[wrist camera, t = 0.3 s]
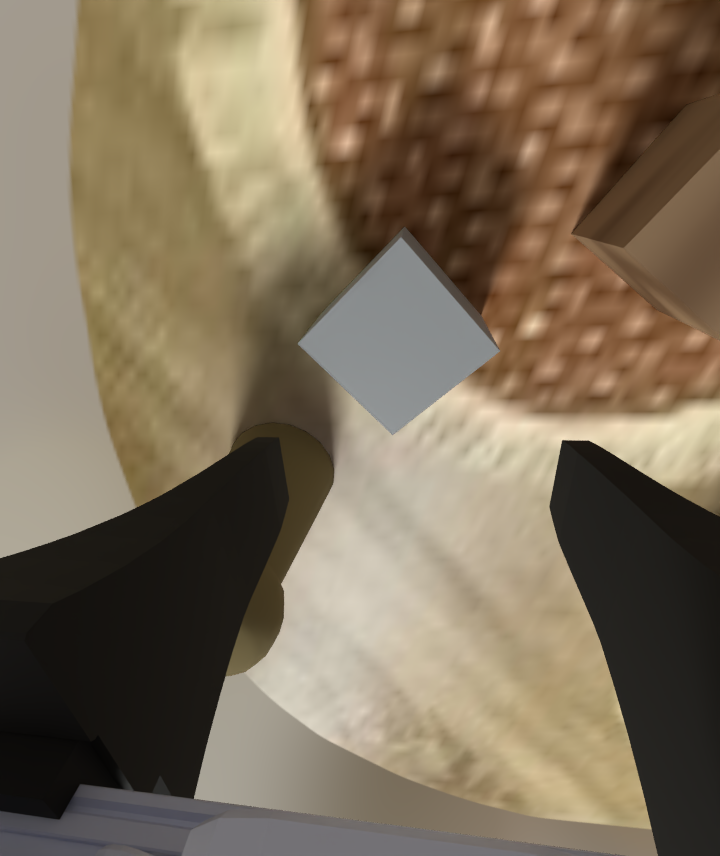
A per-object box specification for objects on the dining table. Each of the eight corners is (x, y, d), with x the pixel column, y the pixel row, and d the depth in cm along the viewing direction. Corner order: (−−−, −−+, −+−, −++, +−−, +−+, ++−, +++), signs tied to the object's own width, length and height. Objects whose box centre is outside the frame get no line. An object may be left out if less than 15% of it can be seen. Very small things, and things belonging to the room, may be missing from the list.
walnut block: (775, 199, 16) (911, 202, 11) (655, 308, 18) (731, 346, 14) (685, 104, 15) (797, 68, 10) (570, 233, 17) (623, 248, 13)
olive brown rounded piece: (234, 410, 23) (102, 570, 13) (344, 439, 23) (293, 619, 13) (225, 496, 26) (112, 678, 16) (323, 522, 26) (268, 717, 16)
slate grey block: (480, 314, 19) (500, 351, 15) (397, 385, 21) (392, 435, 17) (404, 226, 18) (400, 237, 13) (323, 310, 20) (297, 343, 15)
